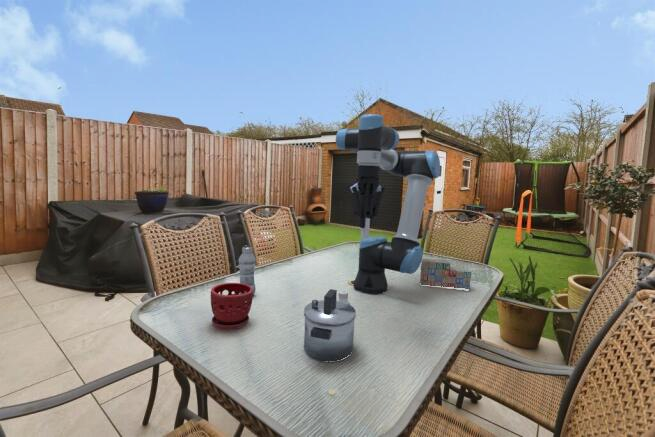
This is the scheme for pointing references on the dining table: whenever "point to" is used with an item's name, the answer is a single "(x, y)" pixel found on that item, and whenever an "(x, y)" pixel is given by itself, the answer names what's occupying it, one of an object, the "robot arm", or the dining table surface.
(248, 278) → the plastic bottle
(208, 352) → the dining table surface
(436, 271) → the stack of blocks
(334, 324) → the lid
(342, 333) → the pot
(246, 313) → the plant pot
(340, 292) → the salt shaker
